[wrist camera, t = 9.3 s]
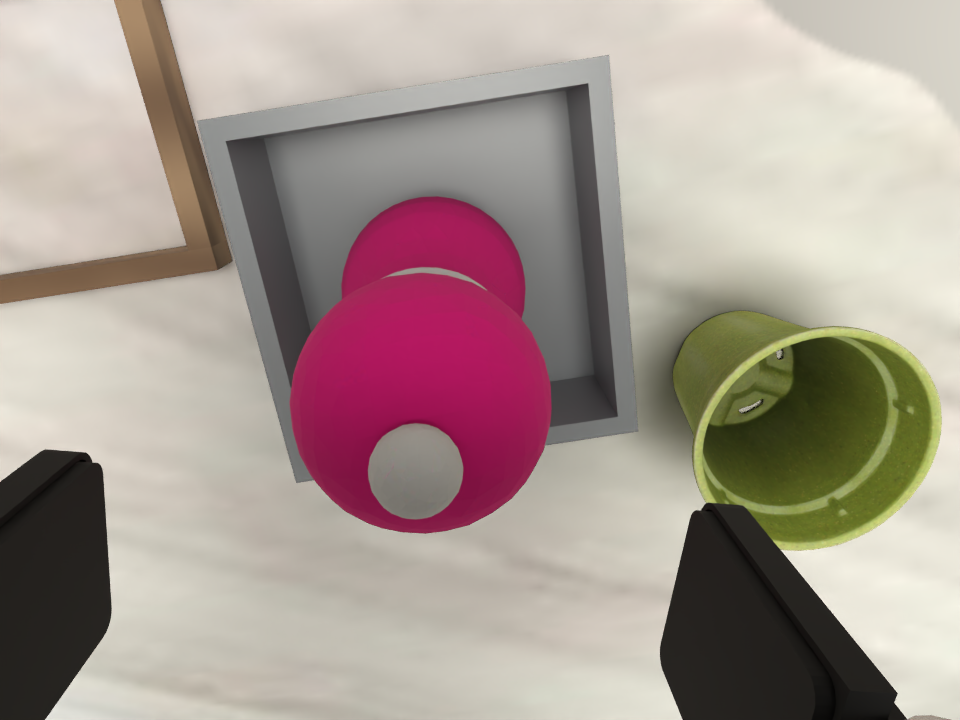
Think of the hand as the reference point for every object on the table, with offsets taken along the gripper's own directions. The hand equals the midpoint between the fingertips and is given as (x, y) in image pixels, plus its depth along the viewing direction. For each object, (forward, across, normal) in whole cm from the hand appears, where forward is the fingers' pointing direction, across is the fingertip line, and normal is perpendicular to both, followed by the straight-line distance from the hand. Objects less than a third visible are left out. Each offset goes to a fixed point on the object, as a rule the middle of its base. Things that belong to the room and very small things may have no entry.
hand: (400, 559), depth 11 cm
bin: (+22, 0, -1) cm, 22 cm away
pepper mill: (+21, 0, -1) cm, 21 cm away
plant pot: (+22, -15, +3) cm, 27 cm away
